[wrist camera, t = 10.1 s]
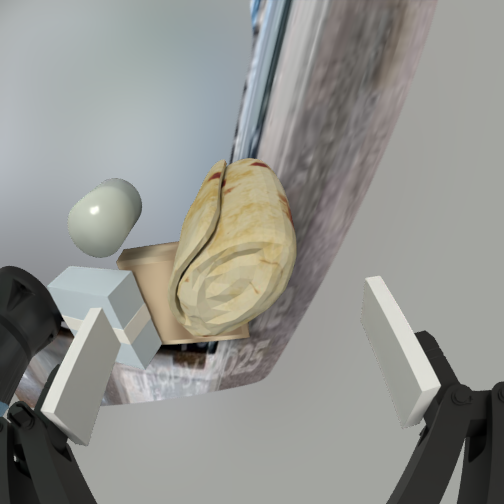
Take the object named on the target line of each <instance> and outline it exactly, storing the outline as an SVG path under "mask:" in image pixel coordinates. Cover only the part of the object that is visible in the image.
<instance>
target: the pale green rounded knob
mask: <svg viewBox="0 0 504 504" xmlns="http://www.w3.org/2000/svg"><path fill="white" fill-rule="evenodd" d="M141 211H142V202H141V198H140V195H139V193H138V191H137V190H136V189H135V187H134V186H133V185H132V184H130V183H129V182H127V181H125V180H123V179H118V178H114V179H108V180H106V181H104V182H102V183H101V184H100V185H98V186H97V187H96V188H95V189H94V190H92V191H91V192H90V193H89V194H87V195H86V196H85V197H84V198H82V199H81V200H80V201H79V202H78V203H76V204H75V205H74V206H73V208H72V209H71V211H70V214H69V216H68V231H69V234H70V236H71V239H72V240H73V242H74V244H75V245H76V246H77V247H78V248H79V249H80V250H81V251H83V252H84V253H86V254H88V255H90V256H93V257H99V258H102V257H108V256H111V255H112V254H114V253H115V252H117V250H118V249H119V248H120V247H121V245H122V243H123V242H124V240H125V239H126V237H127V236H128V234H129V232H130V231H131V229H132V228H133V226H134V225H135V223H136V222H137V220H138V218H139V217H140V214H141Z"/></svg>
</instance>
